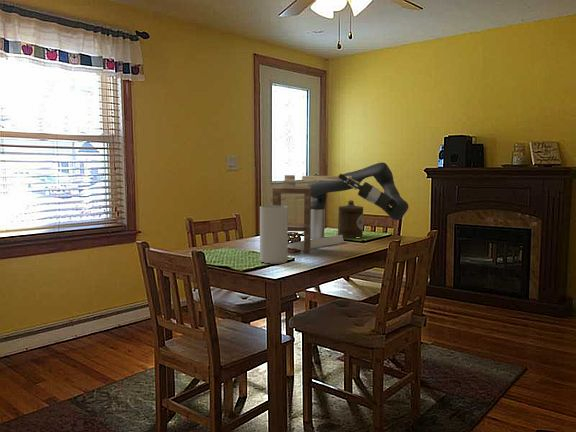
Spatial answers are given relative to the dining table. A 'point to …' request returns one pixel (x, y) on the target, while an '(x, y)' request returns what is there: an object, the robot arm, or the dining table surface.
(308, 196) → the walnut rack
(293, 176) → the offcut stack
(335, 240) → the decorative molding
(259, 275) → the dining table surface
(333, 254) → the dining table surface
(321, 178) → the birch slat
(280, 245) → the cylinder vase
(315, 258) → the dining table surface
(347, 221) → the wooden container
